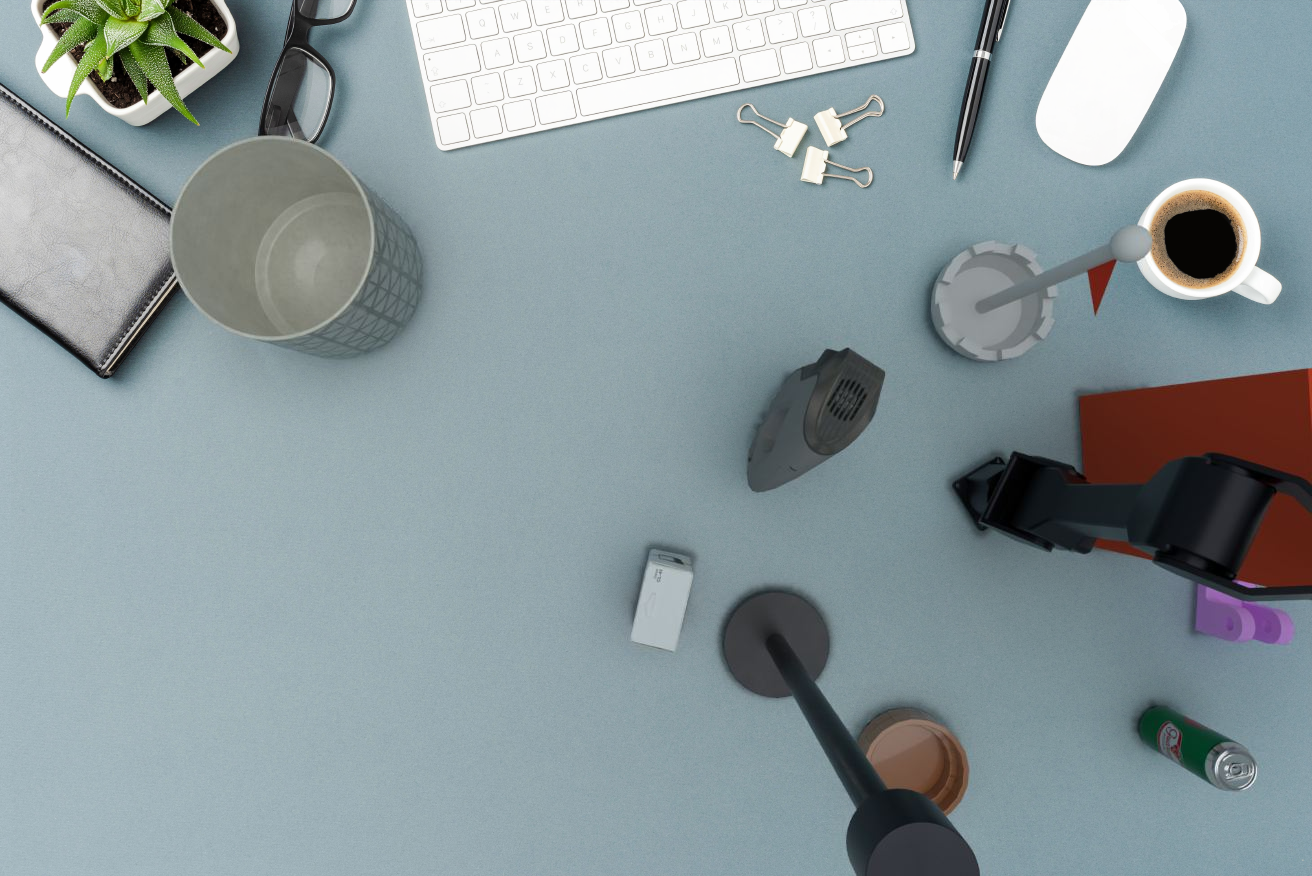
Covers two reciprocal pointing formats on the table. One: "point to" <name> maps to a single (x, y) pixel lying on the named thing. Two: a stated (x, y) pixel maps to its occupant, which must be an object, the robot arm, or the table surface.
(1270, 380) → the file binder
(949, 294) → the flag stand
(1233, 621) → the bracket
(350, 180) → the planter
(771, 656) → the desk lamp
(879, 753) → the bowl
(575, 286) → the table surface
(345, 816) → the table surface
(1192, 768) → the soda can
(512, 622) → the table surface
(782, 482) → the handheld device
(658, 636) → the ink box
